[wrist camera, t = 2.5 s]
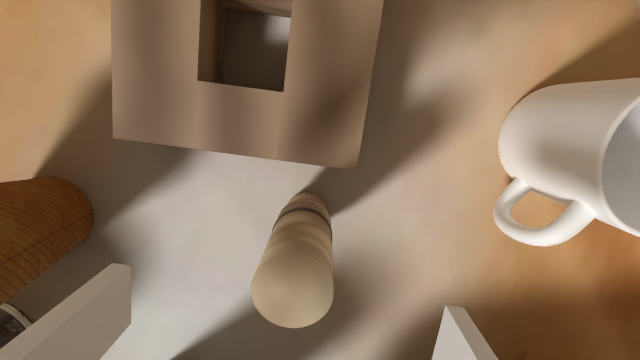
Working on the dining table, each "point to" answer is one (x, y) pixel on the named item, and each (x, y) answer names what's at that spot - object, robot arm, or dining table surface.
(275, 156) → the board
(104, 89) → the dining table surface
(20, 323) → the coffee can
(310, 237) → the peg
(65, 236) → the disposable coffee cup
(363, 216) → the dining table surface
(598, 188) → the cup
